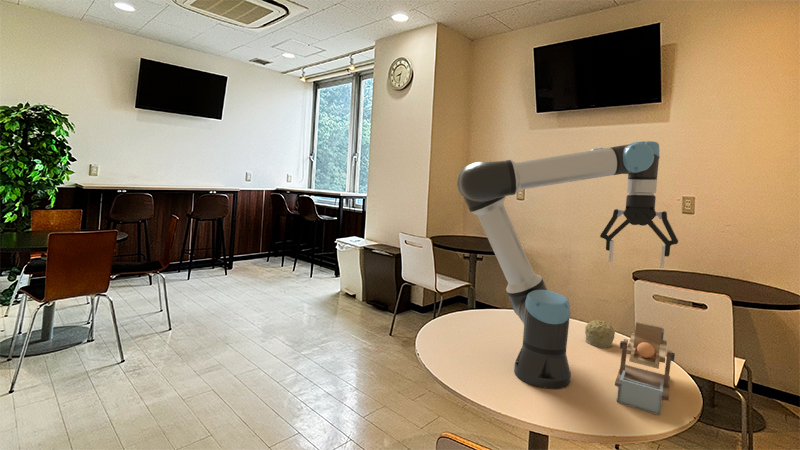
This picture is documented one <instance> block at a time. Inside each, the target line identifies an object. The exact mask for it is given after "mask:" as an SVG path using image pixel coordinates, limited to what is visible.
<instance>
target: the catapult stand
mask: <svg viewBox="0 0 800 450" xmlns="http://www.w3.org/2000/svg"><path fill="white" fill-rule="evenodd" d="M628 344H629V339H626V338H624V339H623V340H620V342H619V350H620V349H621V357H620V358H621V359H620V365H619V369H618V372H617V376H616V378H615V381H614V386H616V387H619V379H620V378H621V375H622V372H623V370H624V371H626V372H625V378H627V379H630V380H634V381H638V382H641V383H645V384H649V385H652V386H656V387H659V388H660V382H661V380H662V381H663V394H662V400H664V401H669V400H670V386H671V385H670V384H671V383H670V382H671V376H670V371H671V362H675V356H676V353H675V352H673V349H672V348H667V349H666V357H665V366H664V374H662V373H660V372H659V373H658V372H656V371H651V370H648V369H643V368H640V367H637V366H636V367H635V366H631V365H627V364H626V362H627V361H626V360H627V354H626V351H627V347H628Z"/></svg>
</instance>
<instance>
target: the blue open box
mask: <svg viewBox="0 0 800 450" xmlns="http://www.w3.org/2000/svg"><path fill="white" fill-rule="evenodd" d="M625 372H626V371H624V370H623V372H622V375H621V378H620V379H619V386H617V387H618V388H617V398H616V402H617V403H618V404H622V405H625V406H628V407H632V408H635V409H638V410H642V411H645V412H648V413H652V414H655V415H658V416H660V415H661V410H662V403H663V402H662V401H663V399H662V394H663V381H662V380H661V382H660V388H659V387H656V386H652V385H649V384H645V383H641V382H638V381H634V380H630V379H627V378H625Z"/></svg>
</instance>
